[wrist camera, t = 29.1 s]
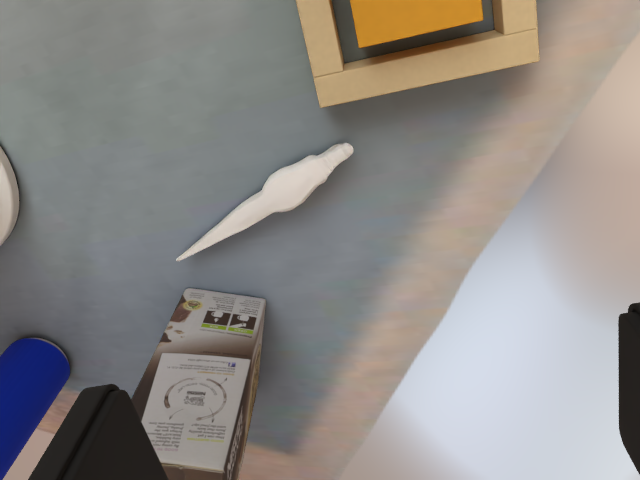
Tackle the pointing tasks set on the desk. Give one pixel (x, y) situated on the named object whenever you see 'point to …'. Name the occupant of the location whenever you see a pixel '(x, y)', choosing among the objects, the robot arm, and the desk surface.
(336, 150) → the white long pointed piece
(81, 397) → the robot arm
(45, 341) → the beverage can
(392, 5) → the small orange block
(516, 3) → the socket pad
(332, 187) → the desk surface
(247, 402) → the coffee box
